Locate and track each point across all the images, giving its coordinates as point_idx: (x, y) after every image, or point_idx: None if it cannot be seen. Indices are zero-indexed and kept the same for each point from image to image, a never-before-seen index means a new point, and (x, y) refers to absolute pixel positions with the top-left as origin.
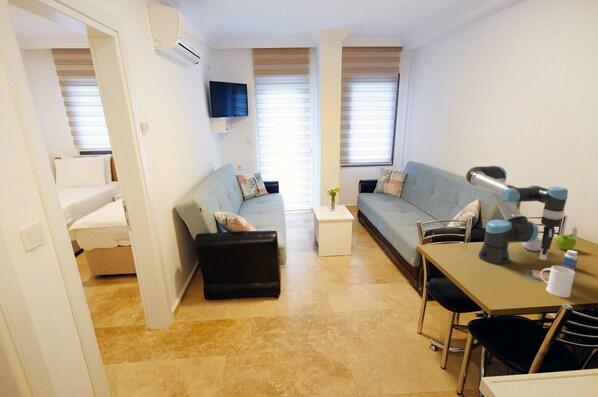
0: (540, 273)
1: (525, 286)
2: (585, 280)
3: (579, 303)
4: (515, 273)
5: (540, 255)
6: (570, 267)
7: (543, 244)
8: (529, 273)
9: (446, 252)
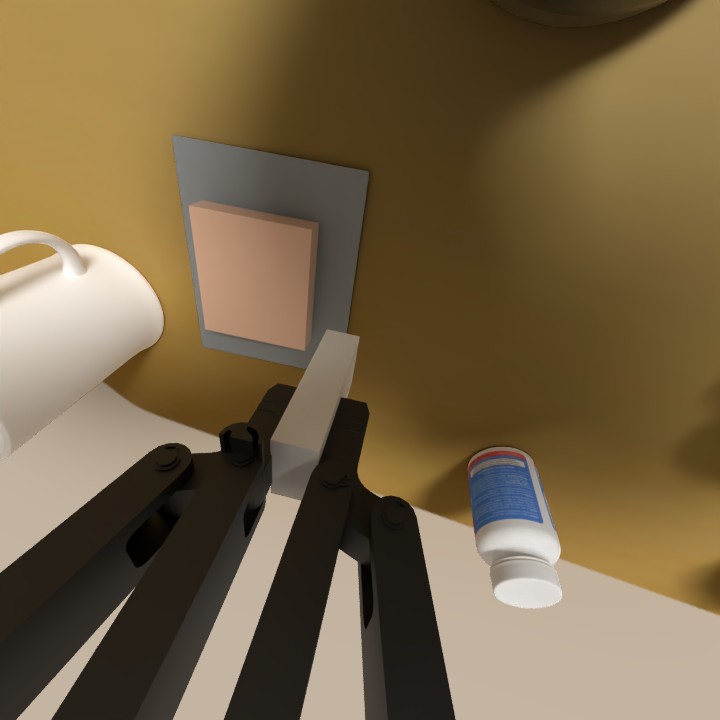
0: (2, 235)
1: (20, 97)
2: None
3: None
4: (230, 50)
5: (315, 358)
6: (469, 475)
7: (187, 509)
8: (289, 198)
9: None
